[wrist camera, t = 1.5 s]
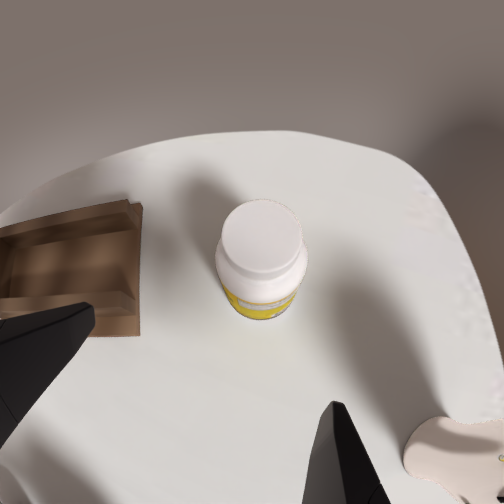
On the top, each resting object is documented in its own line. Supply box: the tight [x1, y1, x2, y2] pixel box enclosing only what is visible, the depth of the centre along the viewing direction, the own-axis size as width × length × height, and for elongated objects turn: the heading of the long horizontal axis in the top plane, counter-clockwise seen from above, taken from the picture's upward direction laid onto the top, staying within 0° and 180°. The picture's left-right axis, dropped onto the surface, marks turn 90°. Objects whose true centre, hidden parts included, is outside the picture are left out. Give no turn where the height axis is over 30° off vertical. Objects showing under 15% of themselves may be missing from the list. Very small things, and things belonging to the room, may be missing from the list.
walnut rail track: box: [0, 199, 143, 337], centre depth 22 cm, size 17×12×4 cm
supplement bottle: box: [215, 199, 308, 320], centre depth 19 cm, size 5×5×10 cm
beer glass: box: [403, 416, 504, 504], centre depth 10 cm, size 7×7×15 cm
